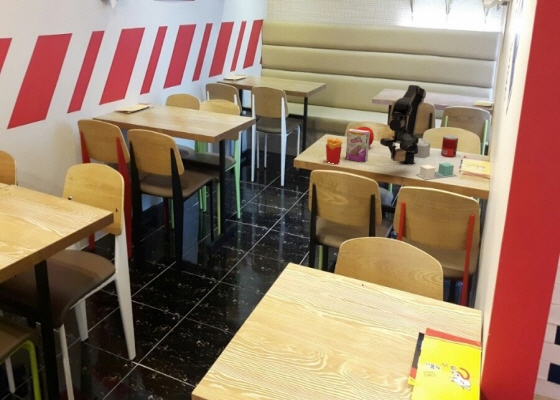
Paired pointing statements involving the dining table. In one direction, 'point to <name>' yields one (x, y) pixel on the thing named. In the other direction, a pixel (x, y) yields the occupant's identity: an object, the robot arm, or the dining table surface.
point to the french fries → (333, 150)
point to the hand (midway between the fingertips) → (397, 157)
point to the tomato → (370, 133)
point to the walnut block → (399, 155)
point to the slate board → (436, 176)
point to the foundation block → (427, 171)
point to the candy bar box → (357, 145)
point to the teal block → (446, 169)
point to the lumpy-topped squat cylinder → (423, 148)
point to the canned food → (449, 145)
